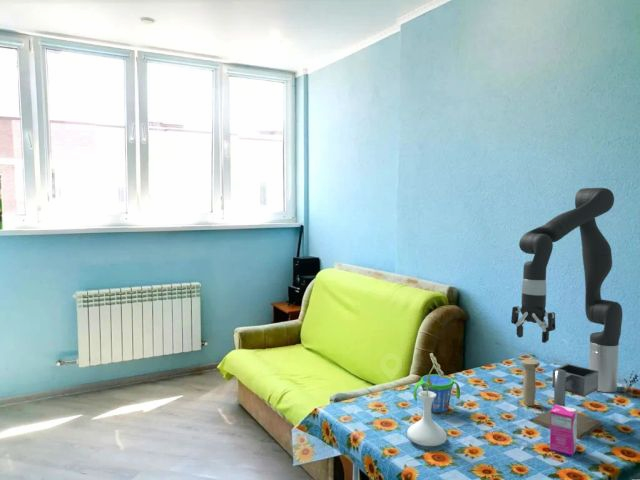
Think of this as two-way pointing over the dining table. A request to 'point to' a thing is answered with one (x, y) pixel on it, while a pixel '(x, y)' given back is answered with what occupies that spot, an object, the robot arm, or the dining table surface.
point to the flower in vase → (428, 417)
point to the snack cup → (438, 391)
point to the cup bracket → (576, 383)
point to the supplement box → (563, 430)
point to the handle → (529, 380)
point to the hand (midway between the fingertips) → (532, 339)
